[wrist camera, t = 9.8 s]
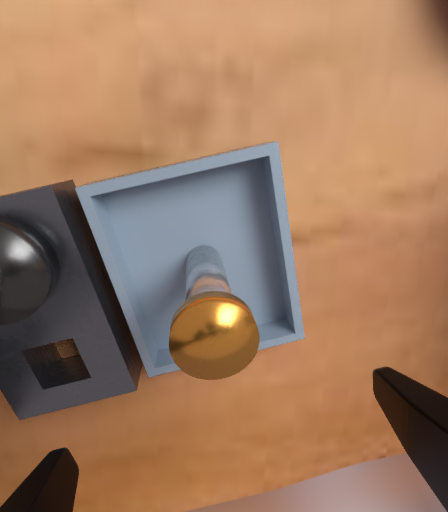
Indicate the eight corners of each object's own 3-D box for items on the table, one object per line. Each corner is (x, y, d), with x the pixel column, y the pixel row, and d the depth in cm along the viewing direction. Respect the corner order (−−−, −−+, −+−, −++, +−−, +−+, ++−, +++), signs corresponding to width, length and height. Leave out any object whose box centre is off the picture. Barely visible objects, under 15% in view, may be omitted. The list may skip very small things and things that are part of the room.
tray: (152, 353, 23) (148, 377, 20) (89, 182, 18) (75, 188, 16) (292, 319, 23) (304, 338, 21) (266, 142, 18) (278, 141, 16)
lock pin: (184, 291, 21) (182, 388, 12) (171, 243, 19) (157, 315, 11) (234, 279, 21) (266, 367, 12) (224, 230, 19) (251, 293, 11)
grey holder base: (40, 386, 23) (-3, 454, 18) (-60, 209, 18) (-160, 233, 13) (143, 360, 23) (129, 420, 18) (72, 179, 18) (26, 191, 13)
